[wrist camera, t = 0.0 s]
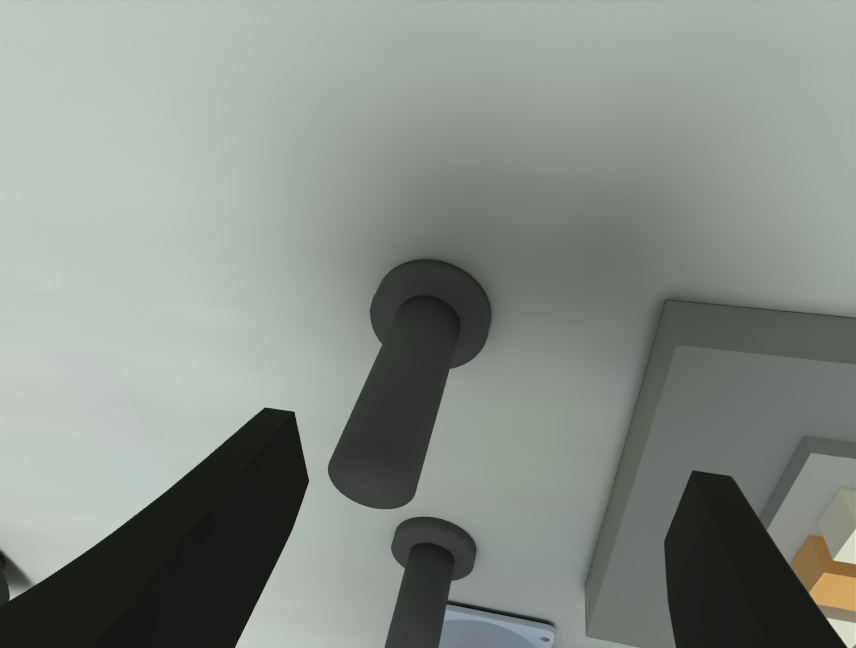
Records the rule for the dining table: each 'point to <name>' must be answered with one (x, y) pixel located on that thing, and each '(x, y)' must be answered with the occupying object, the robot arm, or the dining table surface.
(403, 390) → the dark flanged peg
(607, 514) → the breaker panel
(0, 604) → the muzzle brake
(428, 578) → the gray flanged cylinder
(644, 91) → the dining table surface
